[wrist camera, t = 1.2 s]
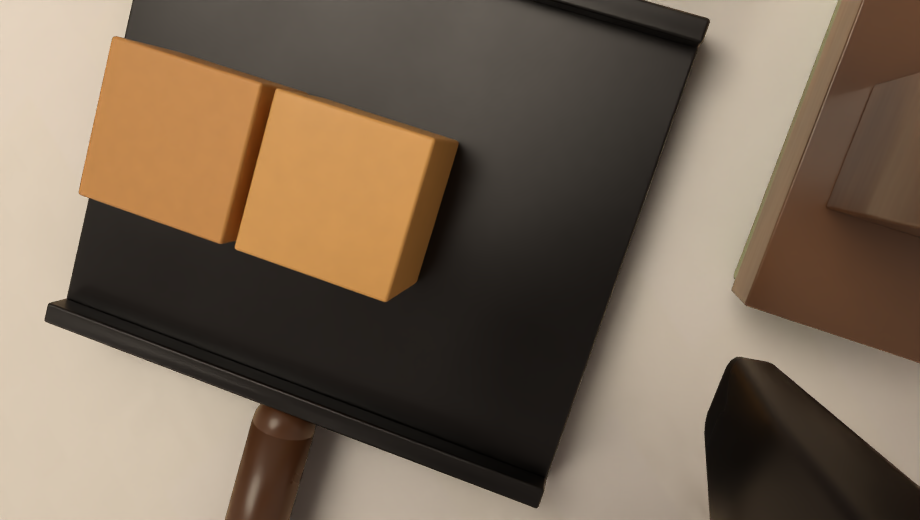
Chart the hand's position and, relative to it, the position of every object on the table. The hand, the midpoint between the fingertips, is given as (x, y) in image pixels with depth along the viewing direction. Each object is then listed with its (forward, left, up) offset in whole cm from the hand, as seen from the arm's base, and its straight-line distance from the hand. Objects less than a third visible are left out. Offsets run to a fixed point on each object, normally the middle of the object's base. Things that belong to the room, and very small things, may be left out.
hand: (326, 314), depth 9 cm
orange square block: (+2, +8, -12) cm, 14 cm away
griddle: (-3, +5, -13) cm, 15 cm away
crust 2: (+1, +3, -12) cm, 13 cm away
